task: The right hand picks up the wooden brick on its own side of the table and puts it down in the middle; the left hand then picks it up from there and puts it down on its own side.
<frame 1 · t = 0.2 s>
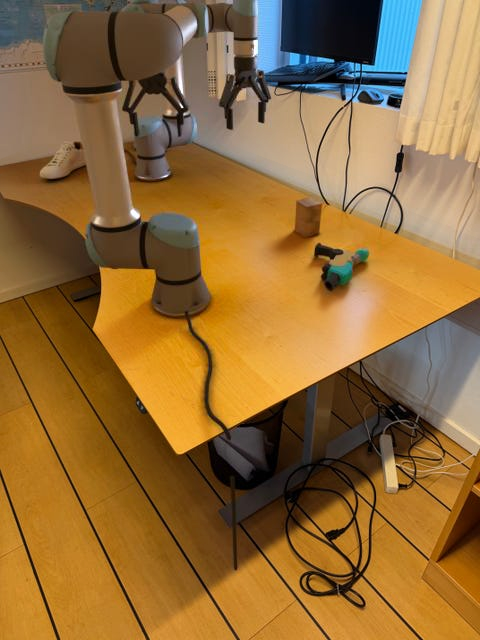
left hand: (245, 125, 163), 28 cm above the table, tool pointing down, fingers open, 13 cm apart
right hand: (158, 135, 149), 29 cm above the table, tool pointing down, fingers open, 13 cm apart
toy gun 2: (332, 271, 137), on the table
toy gun: (152, 147, 239), on the table
brick: (306, 232, 159), on the table
sneaker: (64, 172, 210), on the table
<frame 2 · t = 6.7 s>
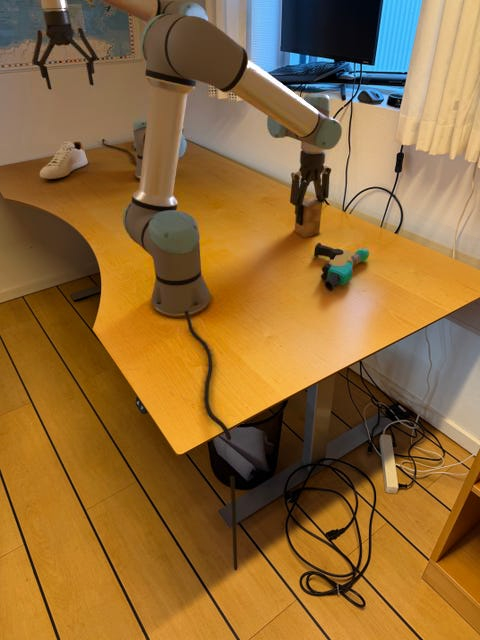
left hand: (71, 86, 157), 41 cm above the table, tool pointing down, fingers open, 13 cm apart
right hand: (307, 221, 157), 4 cm above the table, tool pointing down, fingers closed on brick, 6 cm apart
brick: (306, 232, 159), on the table, touching right hand
everything else where it was.
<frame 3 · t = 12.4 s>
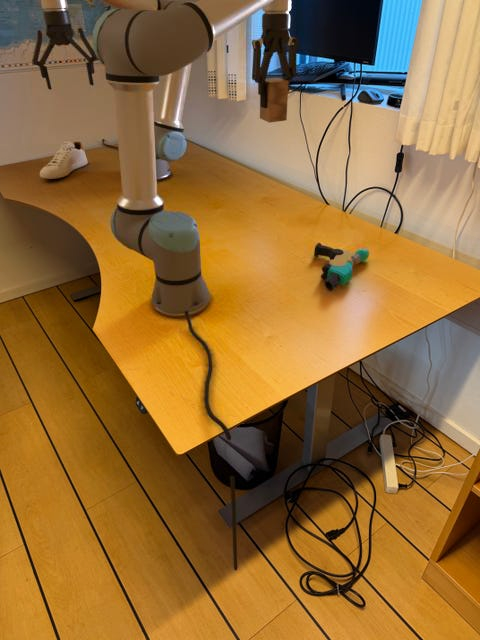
left hand: (71, 86, 157), 41 cm above the table, tool pointing down, fingers open, 13 cm apart
right hand: (273, 105, 140), 39 cm above the table, tool pointing down, fingers closed on brick, 6 cm apart
brick: (273, 119, 142), point 35 cm above the table, touching right hand
everything else where it was.
when the right hand's fingers open (5 cm above the table, at t = 18.2 s): brick drops 1 cm, on the table.
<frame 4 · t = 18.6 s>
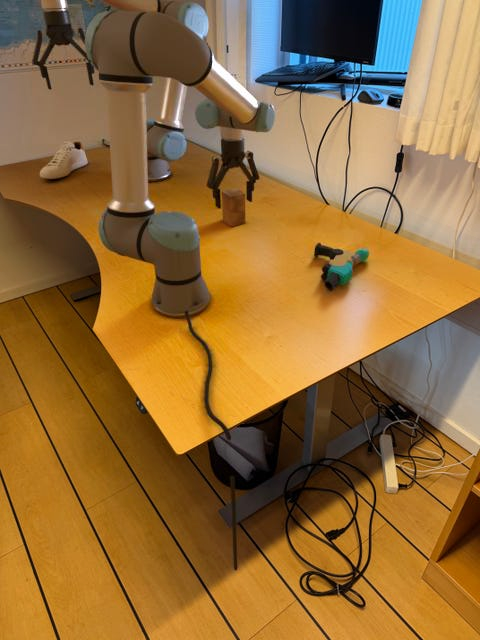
left hand: (71, 86, 157), 41 cm above the table, tool pointing down, fingers open, 13 cm apart
right hand: (233, 203, 163), 6 cm above the table, tool pointing down, fingers open, 11 cm apart
brick: (234, 221, 166), on the table
everything else where it was.
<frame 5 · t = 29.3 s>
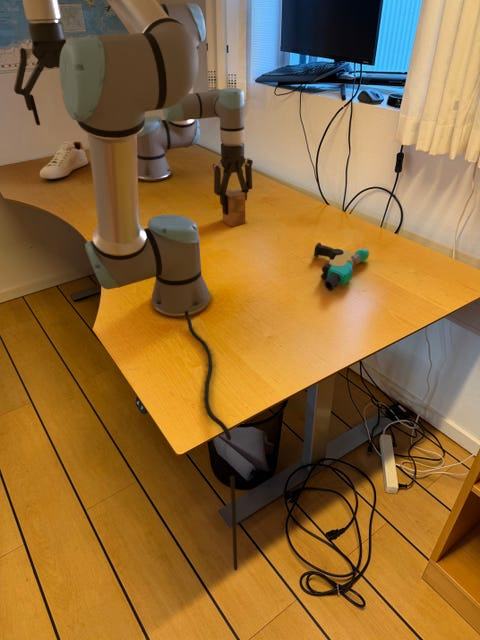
left hand: (233, 211, 164), 4 cm above the table, tool pointing down, fingers closed on brick, 6 cm apart
right hand: (66, 120, 120), 41 cm above the table, tool pointing down, fingers open, 13 cm apart
brick: (234, 221, 166), on the table, touching left hand
everything else where it was.
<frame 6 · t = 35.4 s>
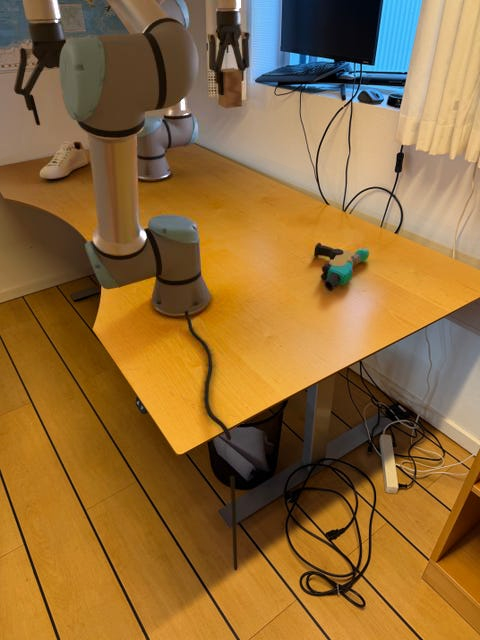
left hand: (229, 93, 157), 38 cm above the table, tool pointing down, fingers closed on brick, 6 cm apart
right hand: (66, 120, 120), 41 cm above the table, tool pointing down, fingers open, 13 cm apart
brick: (230, 105, 159), point 35 cm above the table, touching left hand
everything else where it was.
when the left hand's fingers open (5 cm above the table, at t = 41.7 s): brick drops 1 cm, on the table.
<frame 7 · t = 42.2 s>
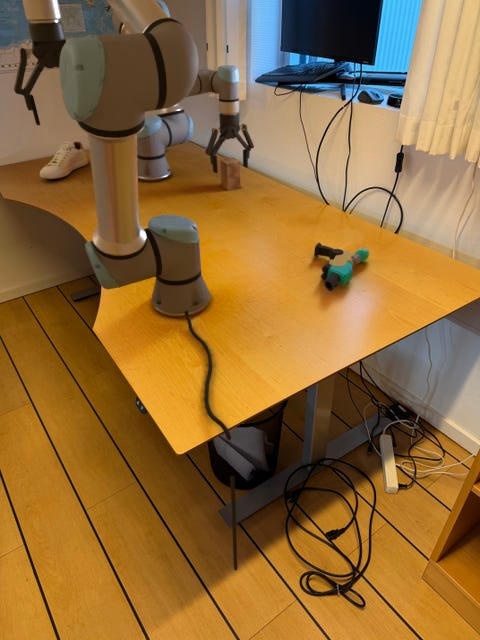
left hand: (230, 169, 190), 7 cm above the table, tool pointing down, fingers open, 13 cm apart
right hand: (66, 120, 120), 41 cm above the table, tool pointing down, fingers open, 13 cm apart
brick: (230, 186, 194), on the table
everything else where it was.
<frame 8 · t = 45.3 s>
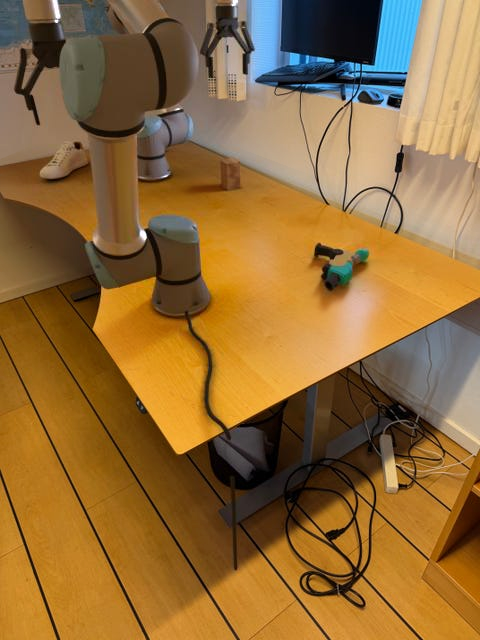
left hand: (228, 76, 170), 41 cm above the table, tool pointing down, fingers open, 13 cm apart
right hand: (66, 120, 120), 41 cm above the table, tool pointing down, fingers open, 13 cm apart
nothing on the table moved.
at the end: brick inside the target area (0.1 cm from its centre), on the table; brick tilted 0°; the two hands never held the brick at the same time; the left hand is holding nothing; the right hand is holding nothing; brick at rest at the end (0.0 cm/s) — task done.
